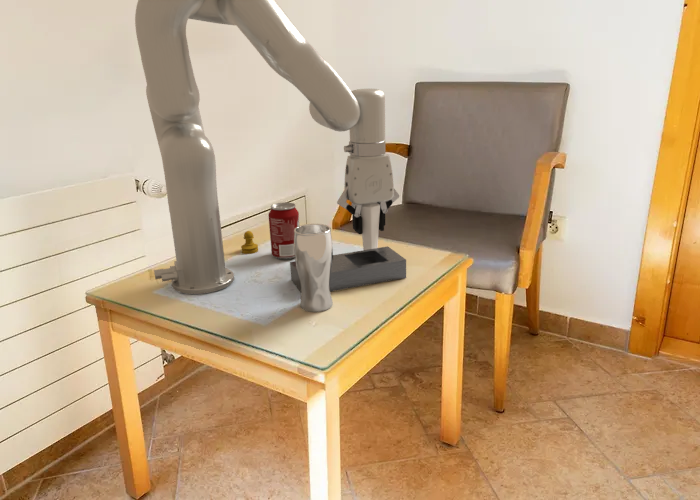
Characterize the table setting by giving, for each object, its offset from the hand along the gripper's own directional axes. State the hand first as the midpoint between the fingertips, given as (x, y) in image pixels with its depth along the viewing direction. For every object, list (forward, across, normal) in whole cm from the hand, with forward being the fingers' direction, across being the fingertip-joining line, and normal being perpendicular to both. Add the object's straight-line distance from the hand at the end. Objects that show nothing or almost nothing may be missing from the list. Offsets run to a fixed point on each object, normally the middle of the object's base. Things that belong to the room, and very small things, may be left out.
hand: (369, 230), depth 132 cm
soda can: (+7, -17, +9) cm, 20 cm away
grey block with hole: (+6, -9, -10) cm, 15 cm away
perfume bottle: (+7, 0, 0) cm, 7 cm away
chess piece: (+7, -24, +16) cm, 30 cm away
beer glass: (+7, -19, -19) cm, 28 cm away
